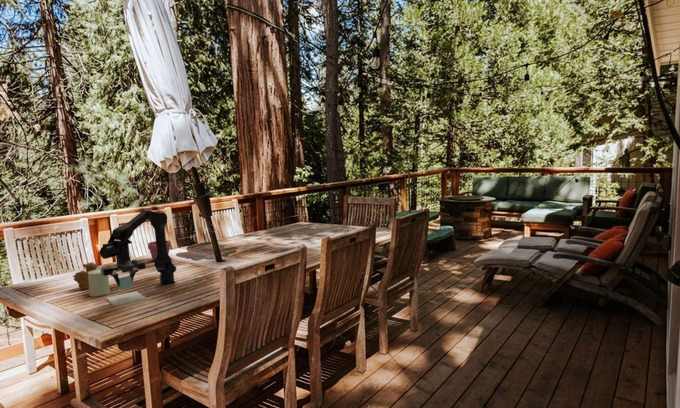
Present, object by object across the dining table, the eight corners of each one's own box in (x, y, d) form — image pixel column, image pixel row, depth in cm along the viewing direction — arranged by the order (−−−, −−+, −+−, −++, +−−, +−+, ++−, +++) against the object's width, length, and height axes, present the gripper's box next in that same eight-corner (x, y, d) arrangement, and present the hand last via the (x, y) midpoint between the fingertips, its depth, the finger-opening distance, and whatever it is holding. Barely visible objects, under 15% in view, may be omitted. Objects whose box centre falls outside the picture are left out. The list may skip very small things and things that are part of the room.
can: (91, 291, 218) (89, 269, 217) (111, 289, 221) (109, 267, 220) (87, 297, 209) (85, 273, 208) (108, 294, 213) (106, 271, 211)
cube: (129, 285, 208) (128, 275, 208) (132, 287, 204) (131, 277, 204) (118, 287, 205) (117, 277, 204) (121, 289, 201) (120, 279, 201)
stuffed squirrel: (107, 284, 232) (105, 260, 230) (86, 292, 218) (84, 267, 217) (93, 283, 234) (91, 260, 233) (70, 290, 221) (68, 266, 219)
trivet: (136, 292, 215) (136, 291, 215) (145, 299, 204) (145, 297, 204) (106, 299, 206) (106, 297, 206) (113, 306, 195) (113, 304, 195)
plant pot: (150, 259, 290) (149, 241, 289) (172, 257, 295) (171, 239, 293) (147, 264, 277) (146, 244, 275) (170, 262, 281) (169, 243, 280)
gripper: (105, 260, 191) (108, 293, 192) (148, 253, 203) (150, 285, 205) (99, 256, 199) (101, 288, 201) (141, 250, 211) (143, 280, 213)
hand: (125, 285), depth 204 cm, fingers closed on cube, 5 cm apart
